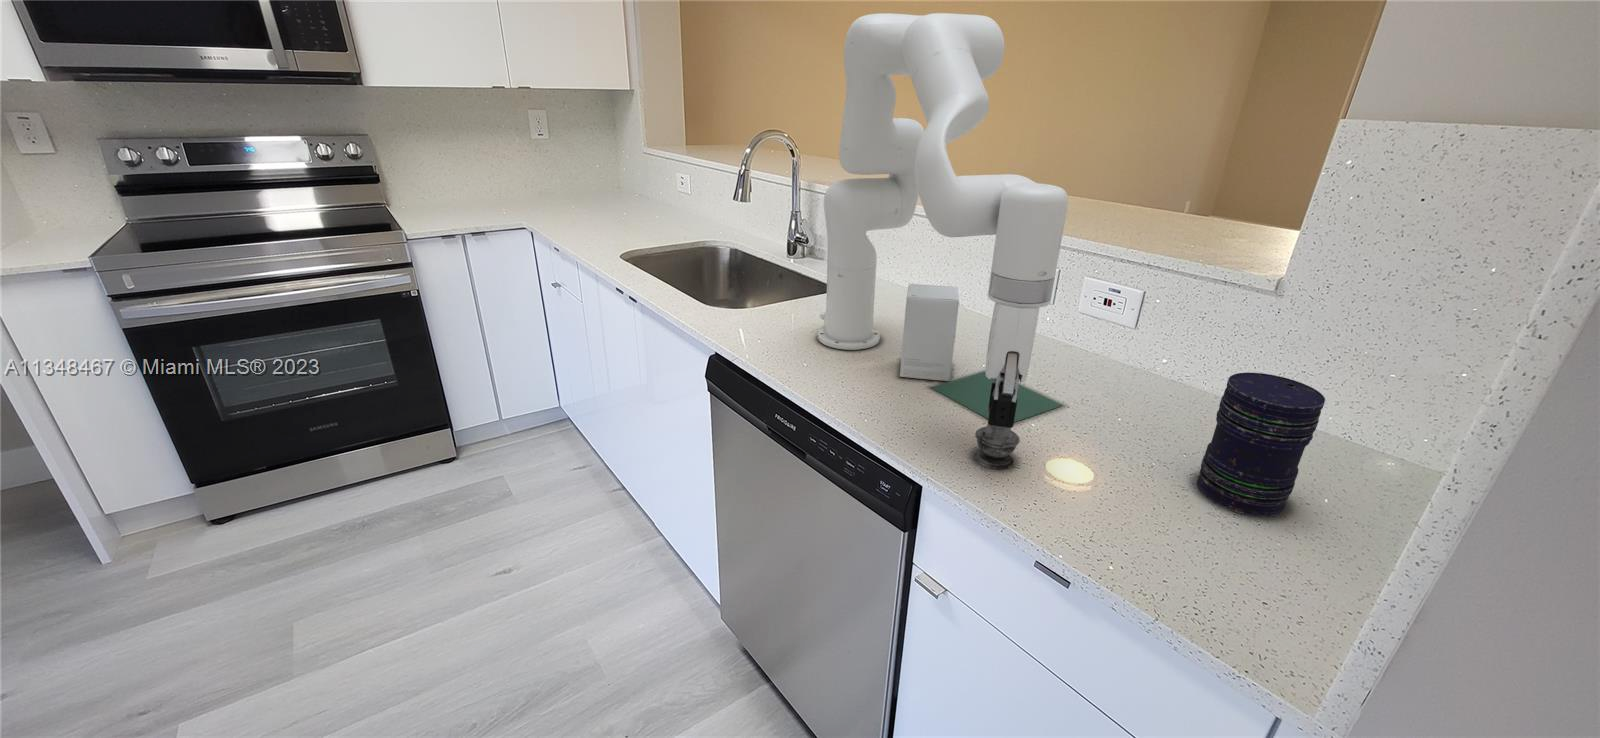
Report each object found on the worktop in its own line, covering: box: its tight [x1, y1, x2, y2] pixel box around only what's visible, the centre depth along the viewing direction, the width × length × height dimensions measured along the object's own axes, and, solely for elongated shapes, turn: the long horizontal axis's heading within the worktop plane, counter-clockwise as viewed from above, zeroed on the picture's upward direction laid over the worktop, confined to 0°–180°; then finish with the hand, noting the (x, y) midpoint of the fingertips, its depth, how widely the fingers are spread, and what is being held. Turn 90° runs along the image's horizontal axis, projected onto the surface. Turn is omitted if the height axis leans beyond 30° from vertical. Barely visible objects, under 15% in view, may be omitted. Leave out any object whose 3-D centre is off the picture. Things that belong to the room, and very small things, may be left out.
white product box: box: [899, 283, 960, 382], centre depth 115 cm, size 9×9×15 cm
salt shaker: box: [974, 383, 1021, 470], centre depth 88 cm, size 6×6×12 cm
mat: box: [930, 371, 1063, 424], centre depth 108 cm, size 16×14×1 cm
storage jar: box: [1196, 372, 1326, 518], centre depth 80 cm, size 10×10×15 cm
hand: (1000, 416), depth 87 cm, fingers closed on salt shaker, 3 cm apart
